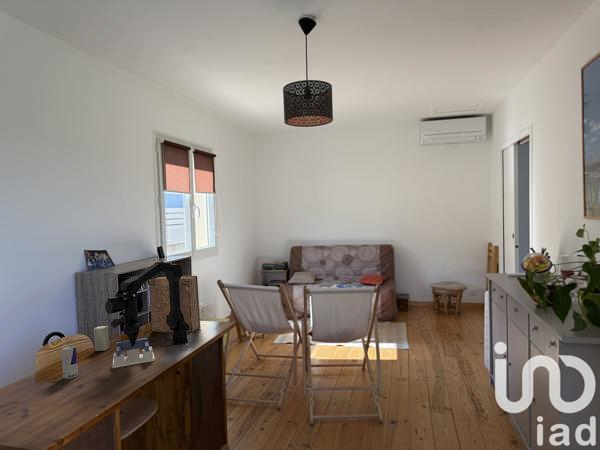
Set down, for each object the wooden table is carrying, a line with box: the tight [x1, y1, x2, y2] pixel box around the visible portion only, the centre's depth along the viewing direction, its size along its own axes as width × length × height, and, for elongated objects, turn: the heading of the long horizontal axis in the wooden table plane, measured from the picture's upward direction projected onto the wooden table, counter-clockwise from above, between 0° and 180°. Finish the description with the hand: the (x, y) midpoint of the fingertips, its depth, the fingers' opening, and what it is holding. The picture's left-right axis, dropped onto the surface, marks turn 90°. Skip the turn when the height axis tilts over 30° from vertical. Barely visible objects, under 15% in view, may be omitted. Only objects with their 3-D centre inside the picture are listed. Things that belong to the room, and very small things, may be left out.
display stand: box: [111, 346, 155, 369], centre depth 183 cm, size 10×17×5 cm, turn 113°
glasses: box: [115, 337, 150, 357], centre depth 181 cm, size 10×13×4 cm
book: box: [147, 275, 201, 334], centre depth 229 cm, size 25×9×30 cm, turn 74°
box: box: [93, 325, 111, 352], centre depth 202 cm, size 5×4×11 cm
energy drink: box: [60, 345, 79, 380], centre depth 168 cm, size 5×5×12 cm
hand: (132, 343), depth 185 cm, fingers open, 9 cm apart
